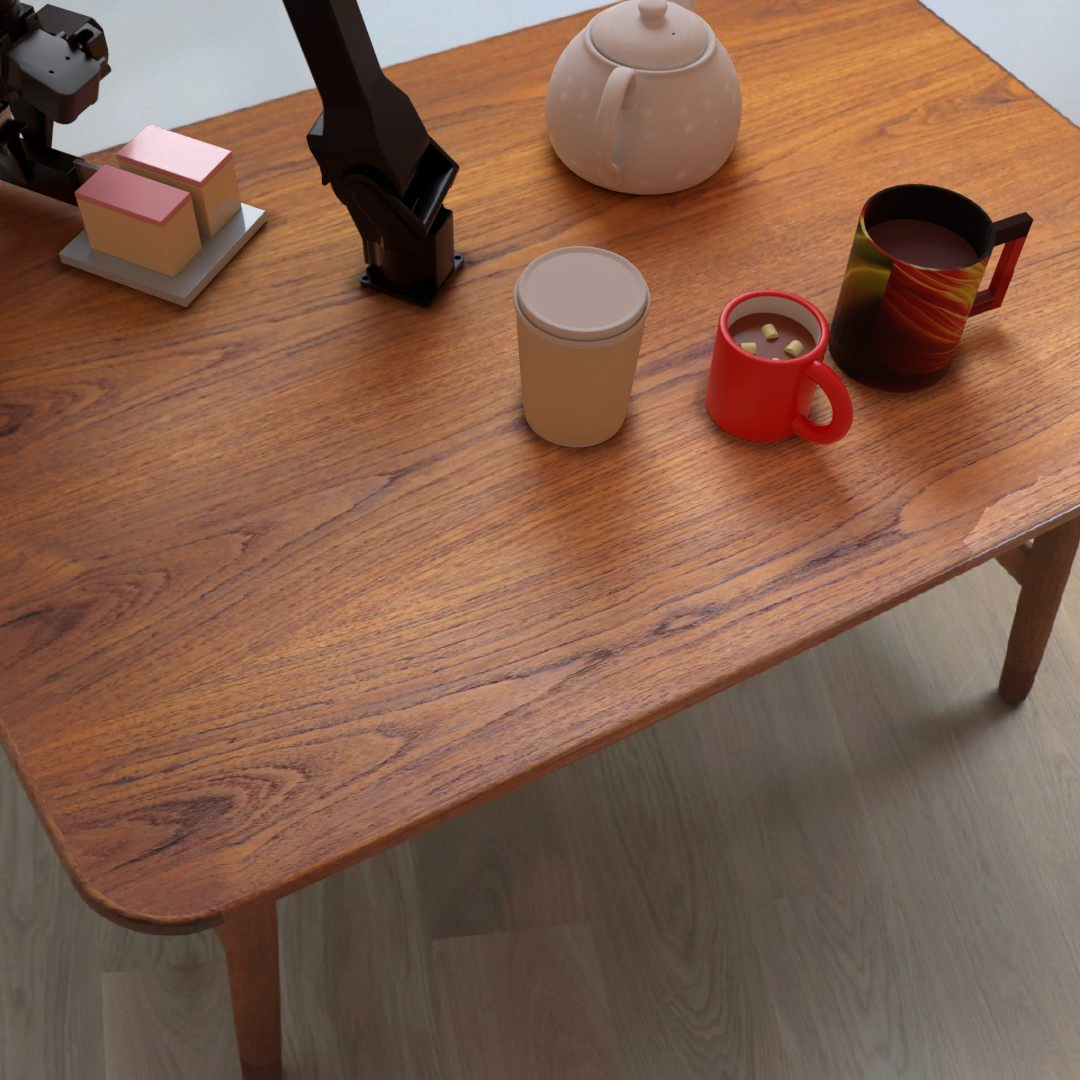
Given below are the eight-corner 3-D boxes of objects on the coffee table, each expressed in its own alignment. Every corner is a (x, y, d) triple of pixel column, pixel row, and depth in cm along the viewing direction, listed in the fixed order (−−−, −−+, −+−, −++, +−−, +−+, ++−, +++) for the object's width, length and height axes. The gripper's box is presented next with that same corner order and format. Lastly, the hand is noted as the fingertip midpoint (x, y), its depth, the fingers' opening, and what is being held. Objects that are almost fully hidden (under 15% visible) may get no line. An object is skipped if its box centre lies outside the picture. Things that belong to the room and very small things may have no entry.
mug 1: (806, 490, 97) (827, 415, 91) (683, 400, 103) (695, 322, 96) (874, 435, 101) (899, 359, 95) (752, 350, 106) (768, 273, 100)
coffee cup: (652, 383, 104) (667, 261, 94) (616, 470, 98) (628, 350, 89) (536, 353, 105) (540, 229, 96) (494, 437, 100) (494, 315, 90)
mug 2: (998, 315, 109) (1046, 193, 100) (913, 411, 102) (956, 290, 93) (893, 263, 113) (929, 140, 103) (804, 353, 106) (834, 230, 97)
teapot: (501, 112, 124) (502, -29, 113) (679, 67, 129) (695, -72, 119) (592, 235, 114) (601, 93, 103) (780, 180, 119) (808, 40, 108)
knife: (206, 231, 111) (197, 190, 108) (190, 246, 110) (181, 206, 106) (-3, 159, 116) (-17, 118, 113) (-20, 173, 115) (-35, 133, 112)
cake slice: (202, 248, 110) (190, 192, 106) (174, 278, 108) (160, 222, 104) (120, 220, 112) (104, 163, 108) (91, 248, 110) (73, 192, 106)
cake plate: (267, 220, 114) (256, 154, 109) (186, 307, 107) (170, 242, 102) (147, 179, 117) (131, 113, 112) (61, 262, 110) (39, 196, 105)
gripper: (-17, 95, 94) (43, 269, 106) (142, -33, 104) (180, 139, 117) (-144, 53, 96) (-71, 228, 109) (23, -68, 107) (72, 104, 119)
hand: (34, 173), depth 113 cm, fingers closed on knife, 2 cm apart
